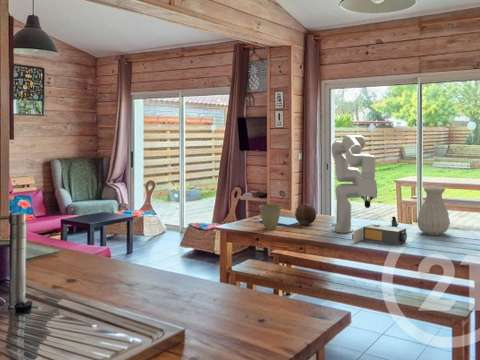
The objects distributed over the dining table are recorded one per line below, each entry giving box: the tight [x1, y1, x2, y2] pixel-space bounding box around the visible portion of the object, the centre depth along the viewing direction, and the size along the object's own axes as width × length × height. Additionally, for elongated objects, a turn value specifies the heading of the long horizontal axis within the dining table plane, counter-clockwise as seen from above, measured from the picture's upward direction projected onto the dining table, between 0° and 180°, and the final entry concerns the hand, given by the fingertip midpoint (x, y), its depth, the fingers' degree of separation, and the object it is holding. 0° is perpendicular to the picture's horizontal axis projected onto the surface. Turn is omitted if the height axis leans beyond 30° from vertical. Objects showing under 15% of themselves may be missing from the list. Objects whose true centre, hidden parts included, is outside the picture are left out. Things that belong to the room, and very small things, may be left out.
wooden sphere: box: [294, 203, 317, 226], centre depth 347 cm, size 15×15×15 cm
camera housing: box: [362, 223, 408, 246], centre depth 296 cm, size 24×12×9 cm, turn 47°
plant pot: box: [259, 204, 282, 231], centre depth 332 cm, size 15×15×16 cm
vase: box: [416, 186, 451, 236], centre depth 315 cm, size 20×20×30 cm
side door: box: [351, 226, 364, 244], centre depth 294 cm, size 14×2×7 cm, turn 147°
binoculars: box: [390, 216, 399, 227], centre depth 318 cm, size 9×11×10 cm
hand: (367, 207), depth 285 cm, fingers closed
